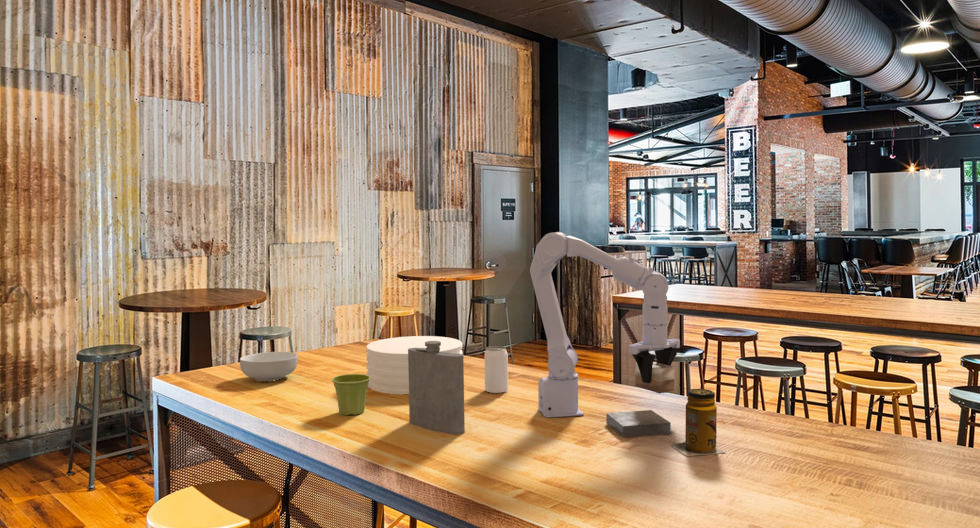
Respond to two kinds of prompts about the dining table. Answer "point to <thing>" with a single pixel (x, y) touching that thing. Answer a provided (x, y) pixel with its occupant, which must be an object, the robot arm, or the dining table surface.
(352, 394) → the plant pot
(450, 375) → the hip flask
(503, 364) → the can
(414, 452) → the dining table surface
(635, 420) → the stand
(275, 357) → the cereal bowl
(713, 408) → the condiment
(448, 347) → the plate stack
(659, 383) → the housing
